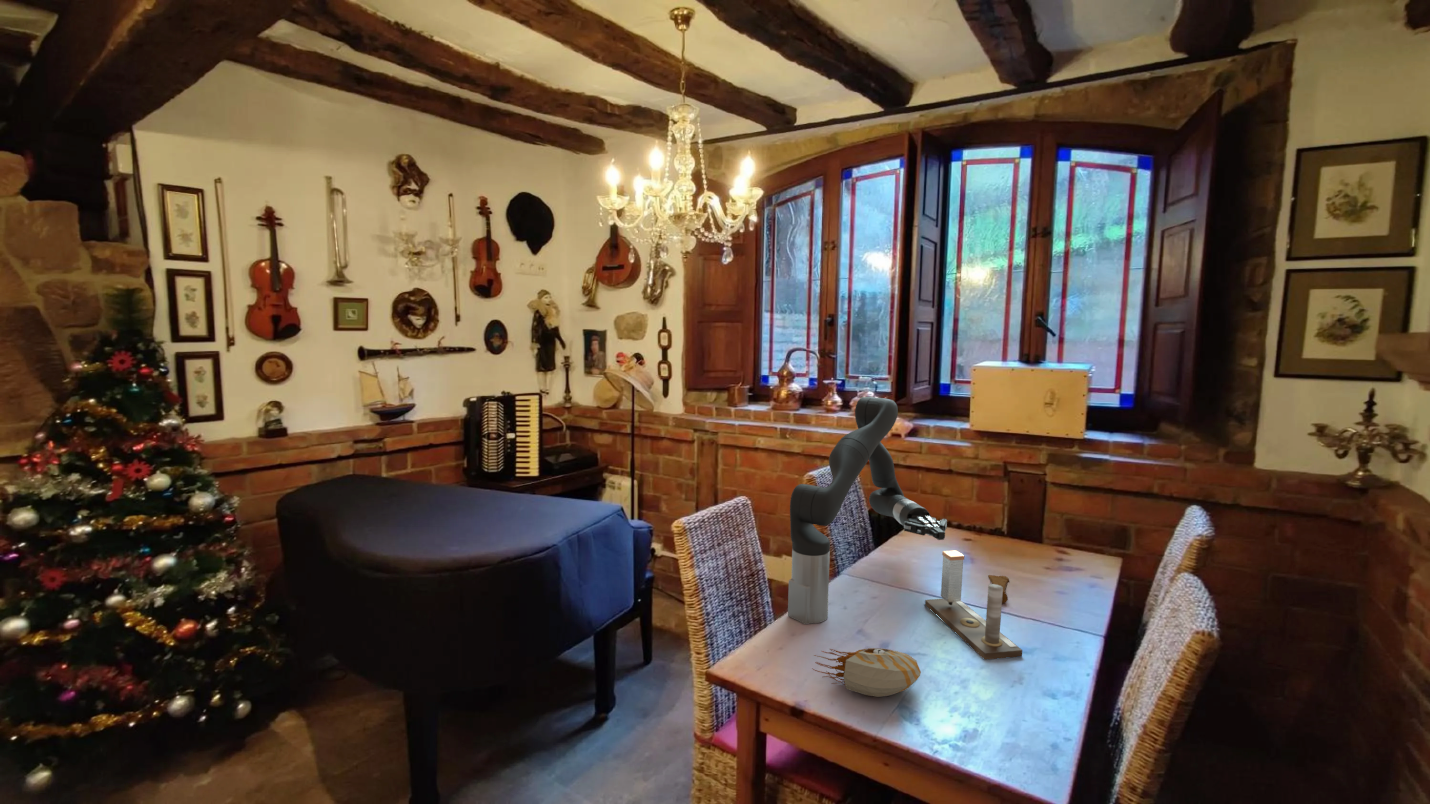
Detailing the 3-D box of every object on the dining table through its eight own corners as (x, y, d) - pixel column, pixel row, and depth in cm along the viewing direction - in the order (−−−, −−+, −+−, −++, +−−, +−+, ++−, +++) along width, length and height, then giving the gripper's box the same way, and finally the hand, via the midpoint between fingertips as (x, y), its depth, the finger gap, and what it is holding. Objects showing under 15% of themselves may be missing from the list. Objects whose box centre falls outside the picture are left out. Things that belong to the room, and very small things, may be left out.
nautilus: (801, 691, 129) (826, 660, 142) (911, 716, 119) (926, 681, 132) (801, 652, 128) (825, 625, 142) (910, 675, 118) (926, 643, 131)
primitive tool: (987, 576, 186) (988, 564, 186) (1008, 579, 185) (1009, 567, 184) (992, 604, 169) (993, 591, 168) (1015, 607, 167) (1016, 594, 166)
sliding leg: (961, 606, 161) (964, 555, 159) (947, 607, 160) (950, 556, 159) (953, 600, 165) (956, 550, 163) (939, 601, 164) (942, 551, 162)
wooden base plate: (1021, 656, 142) (1026, 594, 140) (984, 659, 140) (988, 596, 138) (956, 602, 168) (960, 549, 166) (924, 605, 166) (927, 551, 165)
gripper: (889, 503, 182) (918, 524, 165) (933, 501, 184) (966, 521, 167) (888, 529, 183) (917, 551, 166) (931, 526, 185) (964, 548, 168)
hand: (941, 536), depth 166 cm, fingers closed
